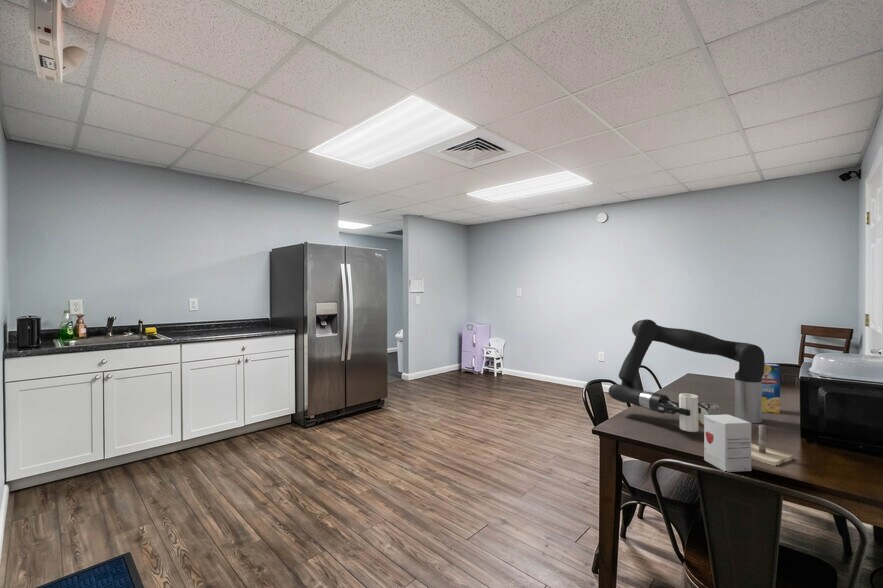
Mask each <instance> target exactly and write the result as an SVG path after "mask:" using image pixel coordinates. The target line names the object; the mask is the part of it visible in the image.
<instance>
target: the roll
mask: <svg viewBox="0 0 883 588" xmlns="http://www.w3.org/2000/svg"><path fill="white" fill-rule="evenodd" d="M678 400H679V409H680V408H683V409H687V410H690V416H686V415H682V414H678V416H679V420H678V421H679V429H680V430H681V431H685V432H689V433H690V432H691V433H697V432H698V431H700V430H699V429H700V427H699V422H698V401H699V396H698V395H697V394H692V393H687V392H686V393H679V394H678Z"/></svg>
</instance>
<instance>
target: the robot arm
mask: <svg viewBox="0 0 883 588" xmlns="http://www.w3.org/2000/svg"><path fill="white" fill-rule="evenodd" d="M631 330H632V331H631V332H632V334H633V336H634V337H635V338H634V342H633V344H632V346H631V348H630V350H629V352H628V353H627V356H626V357H625V358H624V360H623V362H622V364H621V368H620V370H619V372H618V378H619V379H620V380H621V383H620V384H619V383H615V384H611V385H610V386H609V388H608V394H609V397H610V398H612V399H613V400H616V401H619V402H621V403H624V404H625V403H626V404H627V403H628V404H632V405H633V406H636V407H641V408H643V409H646V410H649V411H653V412H655V413H660V414H666V413H667V414H671V415H679V414H682V415H686V416H690V410H687V409H683V408H680V409H679V399H678V400H674V399H672V400H671V399H670V398H669V396H668V395H666V394H662V393H658V392H653V391H647V390H643V389H638V388H635V381H636V379H637V376H638V373H639V371H640V368H641V365H642V363H643V361H644V358H645V355H646V354H647V352H648V350H649V348H650V346H651V344H652V343H653V342H657V343H658V342H659V343H663V344H666V345H670V346H671V347H674V348H678V349H682V350H686V351H689V352H694V353H697V354H703V355H713V356H714V355H715V356H720V357H723V358H727V359H729V360H732V361H735V362H736V363H738V370H737V371H736V372H735V373H734V417H736V418H739V419H742V420H744V421H747V422H750V423H751V424H753V423H754V424H760V423H762V422H763V412H762V377H763V375H764V363H766V362H765V352H764V351H763V349H762V348H761V347H760V346H759V345H757V344H752V343H748V342H739V341H731V340H726V339H721V338H719V337H716V336H713V335H710V334H708V333H704V332H701V331H697V330H691V329H683V328H678V327H677V328H676V327H666V326H662V325H658V324H657V323H656V322H655V321H654V320H652V319H647V318H646V319H641V320H638V321H636V322H634V323H633V325H632V327H631ZM698 413H701V408H699V407H698Z"/></svg>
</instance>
